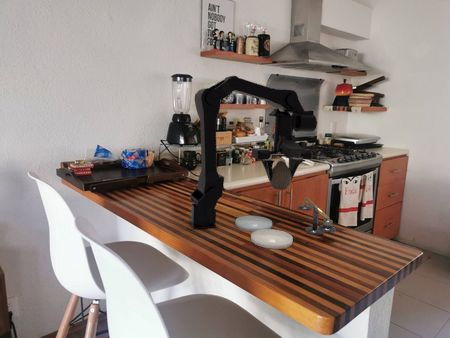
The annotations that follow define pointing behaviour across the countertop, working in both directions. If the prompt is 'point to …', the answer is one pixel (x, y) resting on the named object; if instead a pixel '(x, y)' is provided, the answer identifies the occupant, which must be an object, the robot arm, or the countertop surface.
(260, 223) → the white round plate
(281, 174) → the vase
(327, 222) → the balance
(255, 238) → the dish low
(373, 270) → the countertop surface
